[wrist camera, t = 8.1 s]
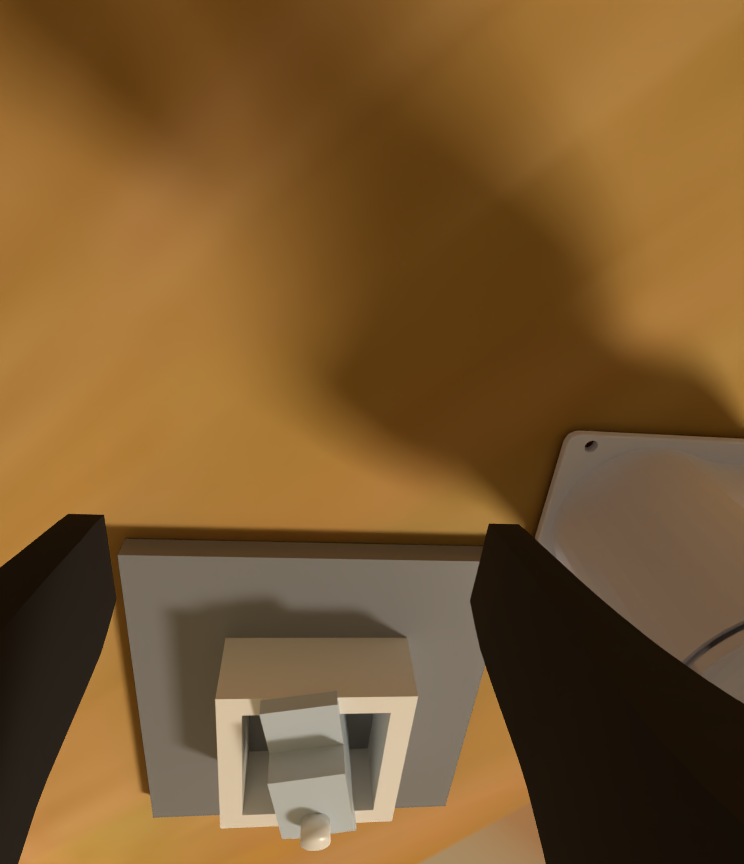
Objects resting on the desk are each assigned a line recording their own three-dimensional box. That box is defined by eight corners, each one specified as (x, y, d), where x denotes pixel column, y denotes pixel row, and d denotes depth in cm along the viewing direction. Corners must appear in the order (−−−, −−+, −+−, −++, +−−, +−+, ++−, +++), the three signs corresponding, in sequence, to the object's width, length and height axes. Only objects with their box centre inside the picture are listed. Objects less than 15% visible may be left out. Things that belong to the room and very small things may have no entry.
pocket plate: (507, 546, 25) (538, 615, 21) (441, 788, 33) (456, 866, 30) (125, 538, 23) (90, 613, 19) (157, 798, 31) (138, 883, 28)
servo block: (334, 631, 25) (340, 755, 20) (351, 754, 29) (359, 880, 24) (266, 639, 25) (254, 766, 20) (293, 762, 29) (289, 890, 24)
